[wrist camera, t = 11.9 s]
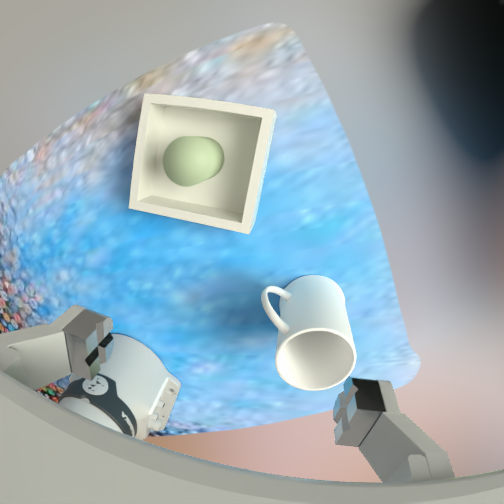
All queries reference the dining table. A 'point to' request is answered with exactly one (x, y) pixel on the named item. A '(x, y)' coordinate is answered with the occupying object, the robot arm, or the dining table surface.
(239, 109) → the bin
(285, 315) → the mug
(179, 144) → the pale green rounded piece
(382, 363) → the dining table surface
